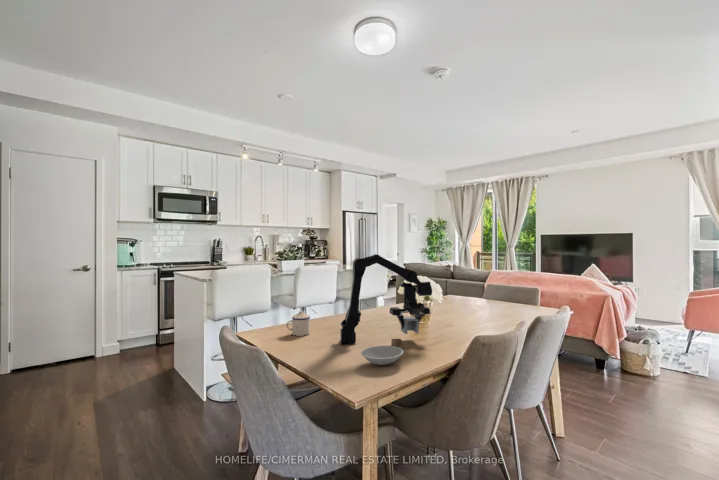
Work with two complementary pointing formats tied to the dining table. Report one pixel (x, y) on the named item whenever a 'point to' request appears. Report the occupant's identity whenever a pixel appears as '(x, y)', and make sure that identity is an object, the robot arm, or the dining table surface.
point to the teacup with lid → (300, 324)
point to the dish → (382, 354)
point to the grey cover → (410, 324)
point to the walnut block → (397, 343)
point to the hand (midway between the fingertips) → (409, 328)
